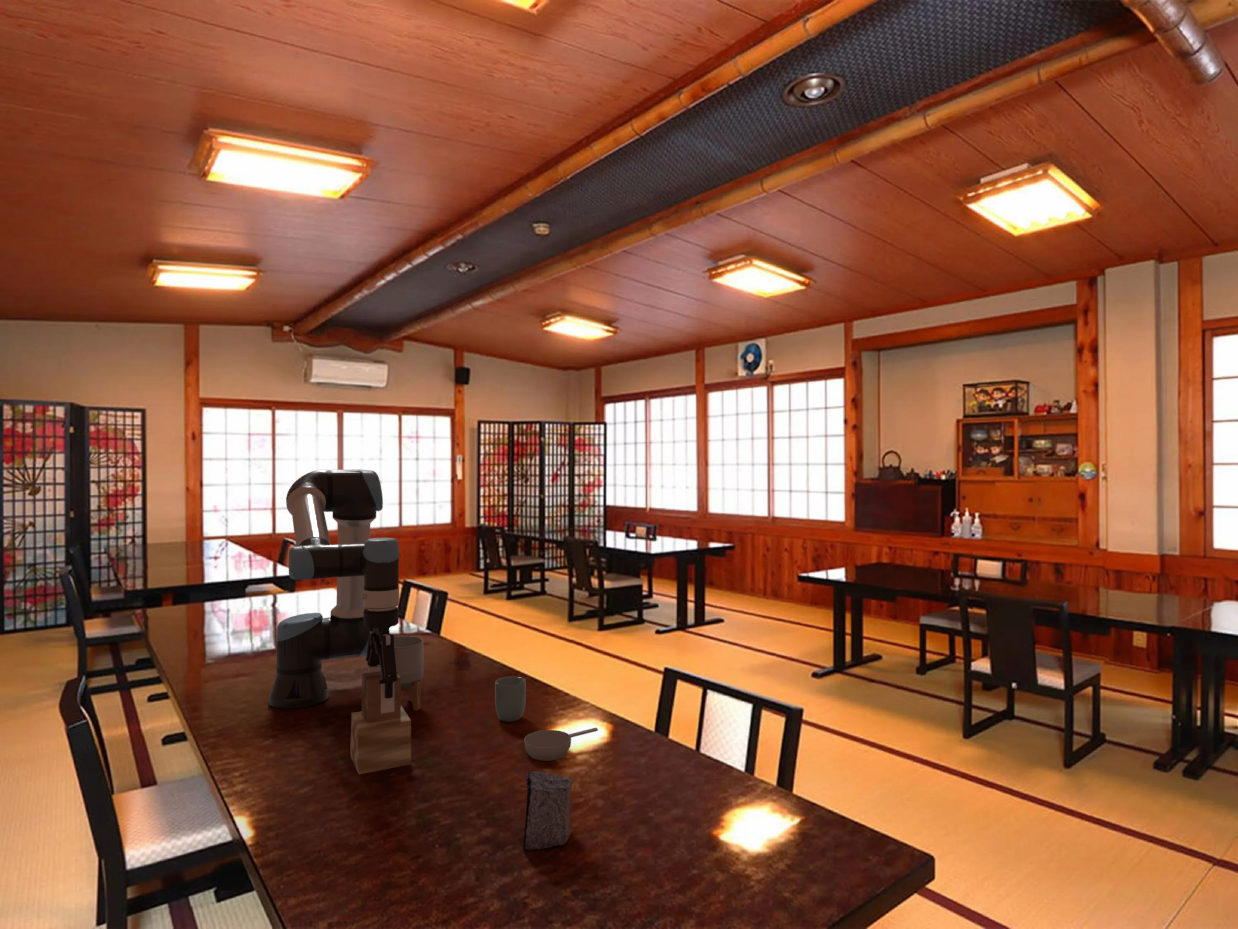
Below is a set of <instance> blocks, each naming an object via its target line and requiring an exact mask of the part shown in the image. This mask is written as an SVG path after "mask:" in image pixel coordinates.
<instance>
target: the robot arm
mask: <svg viewBox="0 0 1238 929" xmlns="http://www.w3.org/2000/svg"><path fill="white" fill-rule="evenodd" d="M379 477H380V476H379V475H378V473H377V472H376V471H375V470H369V469H317V470H313V471H310V472H307V473H305V474H303V475H302V476H300V477H299V478H297V480H295V481H294V482H293V483H292V485H291V486H290V487H289V489H288V491H287V493H286V497H285V498H286V499H285V503H286V509H287V511H288V513H289V515H291V517H292V518H291V519H292V525H293V534H294V540H295V542H294V543H295V546H292V547H291V548H289V550H288V576H289V578H290V579H292V580H306V581H309V580H310V581H311V580H317V579H319V580H320V579H332V578H336V605H335V606H334V607H333V608H332V609H331V610H330V617H324V616H323V615H322V613H321V612H308V613H307V612H306V613H302V614H301V613H300V614H297V615H296V614H295V615H293V616H290V617H289V616H288V617H287V618H285V619H283V620H281V621H279V623H278V625H277V627H276V636H275V642H276V657H275V658H276V665H275V667H276V669H275V670H276V672H275V673H276V674H275V677H274V680H273V684H272V687H271V690H270V693H269V695H268V704H269V706H270V707H273V708H277V709H300V708H308V707H311V706H315V705H318V704H321V703H323V702H325V701H326V700H328V699H329V686H328V684H327V681H326V678H325V675H324V672H323V667H322V666H323V665H322V664H323V661H327V660H335V659H345V658H359V657H362V656H365V661H366V662H367V666H368V667H367V669H368V670H367V673H371V672H379V671H381V675H382V680H380V681H379V684H381V714H382V713H388V712H394V692H395V681H397V679H398V678H397V671H396V660H395V650H394V637H395V636H394V634H392V633H391V632H390V628H392V627H395V626H397V625H398V624H399V622H400V620H399V619H400V618H399V616H400V609H399V608H398V606H399V605H400V584H399V582H400V581H399V580H400V578H399V577H400V576H399V575H400V556H401V553H400V547H399V546H400V545H399V540H398V539H397V538H394V537H373V538H371V524H372V522H374V520H376V519H377V512H380V511H382V510H383V509H384V508H383V507H384V506H383V504H384V501H383V500H384V499H383V498H384V497H383V490H382V485H381V480H380V478H379ZM330 512H331V513H332V519H333V520H334V521H335V522H336V523H337V544H331V539H330V534H329V529H328V523H327V520H326V514H325V513H330ZM388 645H389V646H388ZM377 665H380V666H377ZM388 675H391V676H388Z"/></svg>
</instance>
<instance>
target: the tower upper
mask: <svg viewBox="0 0 1238 929" xmlns="http://www.w3.org/2000/svg"><path fill="white" fill-rule="evenodd" d="M350 715H351V716H350V717H351V718H350V719H351V720H350V721H351V722H350V724H351V726H350V727H351V729H350V731H351V732H350V737H351V736H352V738H353V741H354V743H355V745H356V748H357V750H358V752H363V751H368V750H374V749H380V748H386V747H392V746H398V745H404V744H410V743H411V744H412V720H411V718H410V717H409V715H408V713H407V712H406V710H405V709H404V708H403V706H402V705H401V718H397V719H391V720H385V721H379V722H373V723H367V721H366V720H365V718H364V716H363V715H362V710H360V711H356V712H350Z"/></svg>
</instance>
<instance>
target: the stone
mask: <svg viewBox="0 0 1238 929" xmlns="http://www.w3.org/2000/svg"><path fill="white" fill-rule="evenodd" d="M525 782H526V783H525V785H527V786H526V788H527V790H526V804H525V805H526V807H525V808H526V809H525V821H524V833H523V842H522V843H523V844H522V848H523V849H524V850H527V851H532V850H543V849H549V848H552V847H558V846H561V845H565V844H566V843H567V842H568V840H569V838H570V836H571V835H572V829H571V822H570V819H571V818H570V812H571V790H572V785H573V779H572V778H570V777H566V776H563V775H562V776H561V775H556V774H553V773H546V772H543V771H531V772H530V771H529V772H526V776H525Z"/></svg>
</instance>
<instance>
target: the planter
mask: <svg viewBox="0 0 1238 929" xmlns="http://www.w3.org/2000/svg"><path fill="white" fill-rule="evenodd" d="M388 646H389V645H388ZM394 650H395V660H396V671H397V674H398V675H399V676H400V677H401V692H403V693H404V694H406V696H407V697H406V698H407V701H408V702H411V704H412V711H419V710H421V680H422V679H423V677H424V639H423V638H422V637H419V636H414V635H399V636H396V635H395V636H394ZM377 666H380V665H377Z"/></svg>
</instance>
